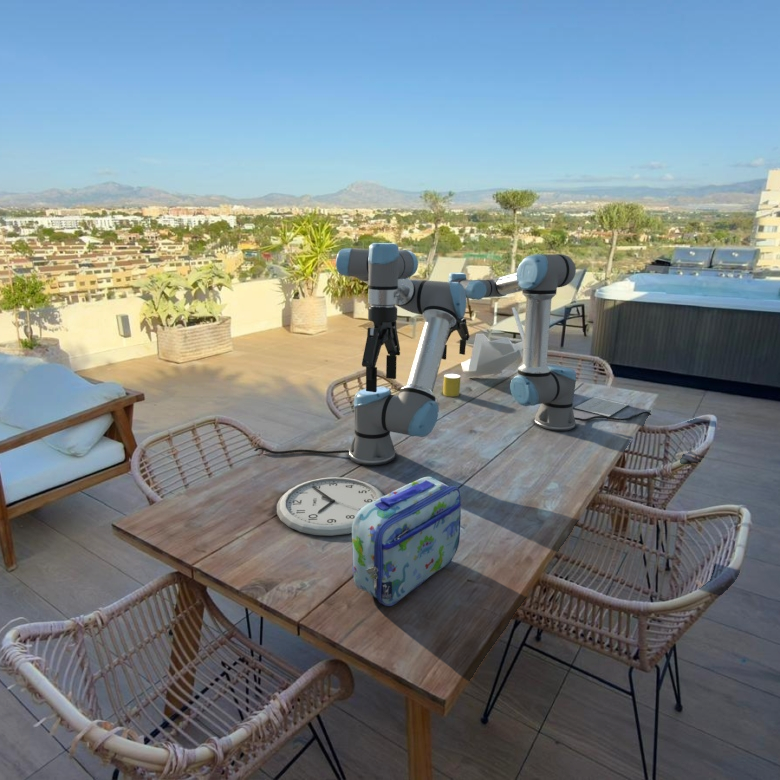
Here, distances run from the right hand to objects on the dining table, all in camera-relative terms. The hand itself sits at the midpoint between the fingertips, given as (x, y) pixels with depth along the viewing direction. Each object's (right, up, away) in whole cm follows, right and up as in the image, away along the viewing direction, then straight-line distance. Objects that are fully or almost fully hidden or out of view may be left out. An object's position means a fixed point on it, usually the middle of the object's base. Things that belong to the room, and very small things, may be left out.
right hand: (452, 356), depth 234 cm
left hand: (-30, -14, -94) cm, 100 cm away
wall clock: (-44, -47, -92) cm, 112 cm away
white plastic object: (+26, -12, +23) cm, 36 cm away
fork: (-11, -22, -12) cm, 27 cm away
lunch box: (-24, -56, -121) cm, 135 cm away
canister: (0, -17, +6) cm, 18 cm away
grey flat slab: (+63, -22, -8) cm, 68 cm away
